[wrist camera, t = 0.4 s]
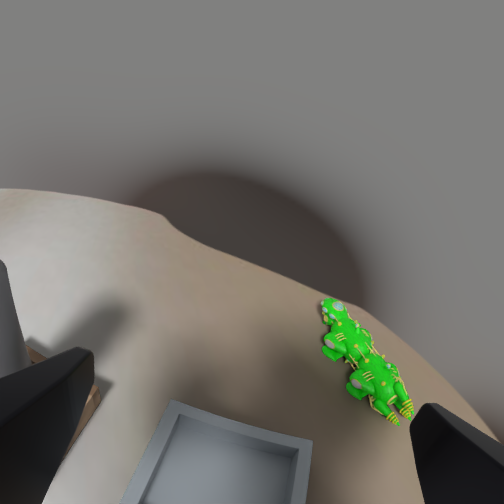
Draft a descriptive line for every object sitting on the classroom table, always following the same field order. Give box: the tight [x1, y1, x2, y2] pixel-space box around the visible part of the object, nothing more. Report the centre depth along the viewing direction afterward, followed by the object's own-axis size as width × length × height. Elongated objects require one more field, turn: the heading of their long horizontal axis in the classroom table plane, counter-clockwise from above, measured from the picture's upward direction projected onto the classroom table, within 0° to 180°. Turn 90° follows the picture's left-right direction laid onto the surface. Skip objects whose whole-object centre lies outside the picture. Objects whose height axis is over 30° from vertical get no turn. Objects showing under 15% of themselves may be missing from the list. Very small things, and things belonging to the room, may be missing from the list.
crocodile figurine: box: [321, 298, 414, 426], centre depth 31 cm, size 7×18×4 cm, turn 18°
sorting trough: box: [119, 399, 313, 504], centre depth 17 cm, size 11×11×2 cm
